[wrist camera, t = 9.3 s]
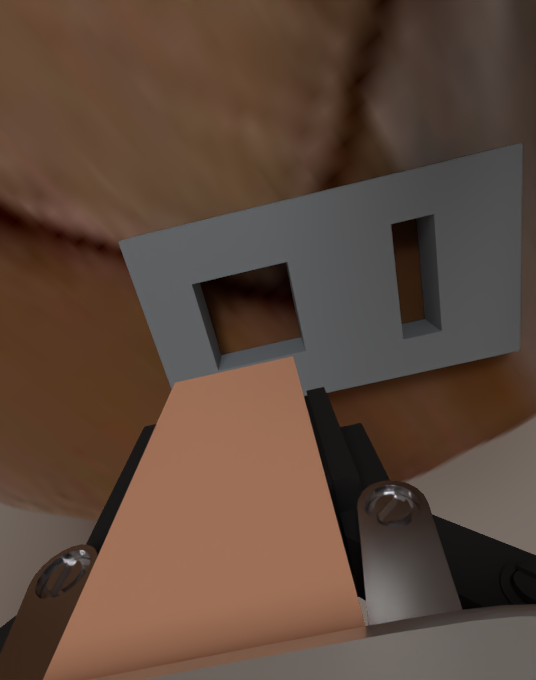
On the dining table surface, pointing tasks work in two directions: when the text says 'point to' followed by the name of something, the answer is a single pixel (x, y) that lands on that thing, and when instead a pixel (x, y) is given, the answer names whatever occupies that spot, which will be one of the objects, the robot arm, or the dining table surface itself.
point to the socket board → (351, 274)
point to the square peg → (216, 535)
